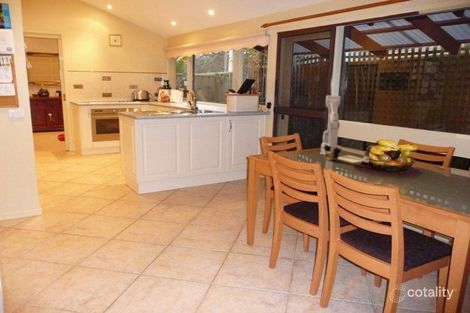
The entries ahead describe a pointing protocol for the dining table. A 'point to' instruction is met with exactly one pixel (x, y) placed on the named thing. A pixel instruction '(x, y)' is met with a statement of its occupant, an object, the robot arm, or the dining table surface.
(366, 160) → the stone
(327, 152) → the stool
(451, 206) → the dining table surface
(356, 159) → the mat
